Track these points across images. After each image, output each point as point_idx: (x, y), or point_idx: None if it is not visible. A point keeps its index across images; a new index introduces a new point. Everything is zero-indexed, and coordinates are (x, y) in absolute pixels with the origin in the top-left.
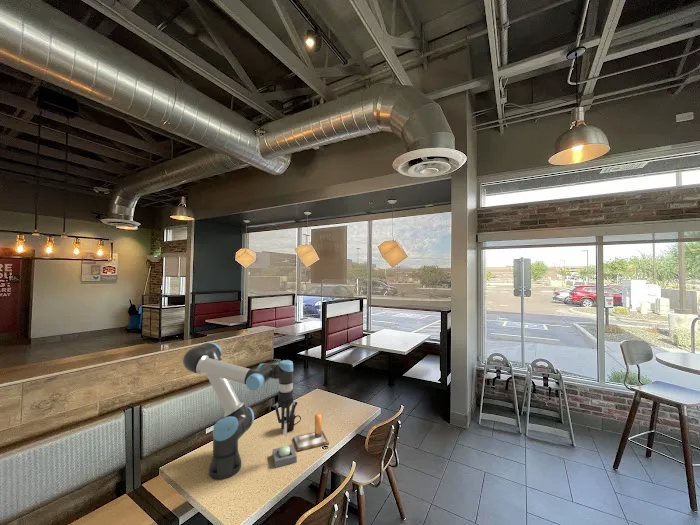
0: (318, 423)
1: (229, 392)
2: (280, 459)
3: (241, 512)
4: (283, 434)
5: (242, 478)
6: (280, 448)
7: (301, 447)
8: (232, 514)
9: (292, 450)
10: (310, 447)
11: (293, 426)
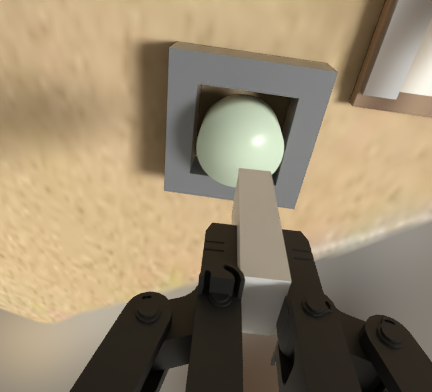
0: None
1: None
2: (197, 188)
3: (38, 307)
4: (235, 192)
5: (6, 167)
6: (214, 130)
7: (388, 97)
8: (12, 301)
9: (299, 142)
10: None
11: None
